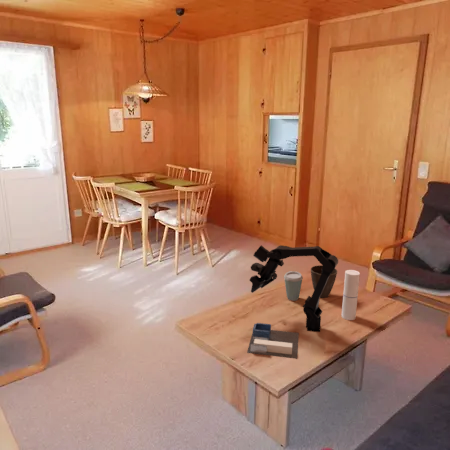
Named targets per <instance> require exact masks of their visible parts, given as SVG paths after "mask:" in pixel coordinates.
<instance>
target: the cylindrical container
mask: <svg viewBox="0 0 450 450" xmlns="http://www.w3.org/2000/svg"><path fill="white" fill-rule="evenodd" d="M360 277H361V273H360V271H358V270H355V269H346V270H345V271H344V282H343V283H344V284H343V294H342V304H341V305H342V306H341V315H340V316H341V318H342V319H344V320H347V321H354V320H356V318H357V317H356V315H357V306H358V298H359V296H358V294H359V286H360Z"/></svg>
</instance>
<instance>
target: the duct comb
mask: <svg viewBox="0 0 450 450" xmlns="http://www.w3.org/2000/svg"><path fill="white" fill-rule="evenodd" d="M299 334H300V333H299V332H296V331H295V332H293V331H284V330H277V329H276V330H275V329H272V324H271V323H263V322H262V323H261V322H256V323H253V327H252V334H251V338H250V340H249V344H248V346H247V350H246V353H247V354H254V355H263V356H271V357H280V358H285V359H286V358H288V359H295V360H296V359H297V360H298V350H299V337H300V335H299ZM255 339H259V340H268V341H277V342H286V343H292V354H283V353H275V352H267V346H264V345H255V344H254V340H255Z"/></svg>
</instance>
